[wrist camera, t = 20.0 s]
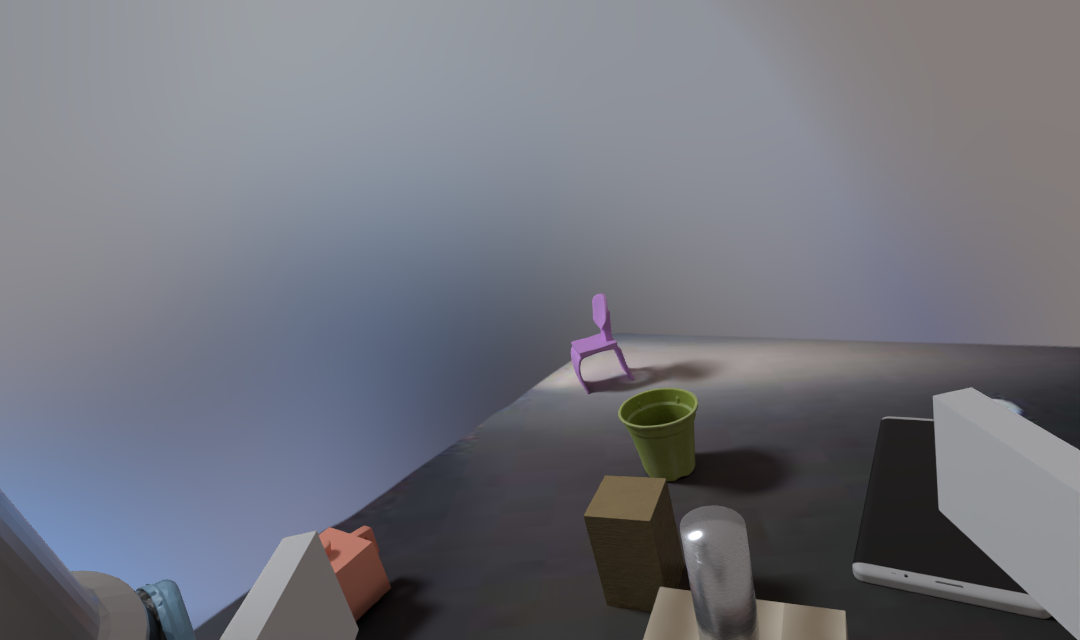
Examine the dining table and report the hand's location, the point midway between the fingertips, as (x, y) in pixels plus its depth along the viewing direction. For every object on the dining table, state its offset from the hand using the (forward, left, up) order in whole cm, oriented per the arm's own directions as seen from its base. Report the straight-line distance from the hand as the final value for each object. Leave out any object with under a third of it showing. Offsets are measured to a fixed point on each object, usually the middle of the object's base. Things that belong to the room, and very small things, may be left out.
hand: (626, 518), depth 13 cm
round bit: (-5, +21, -33) cm, 40 cm away
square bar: (-15, +32, -34) cm, 49 cm away
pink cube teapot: (-46, +23, -34) cm, 62 cm away
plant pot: (-17, +51, -34) cm, 64 cm away
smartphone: (+11, +48, -35) cm, 60 cm away
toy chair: (-34, +76, -34) cm, 90 cm away
